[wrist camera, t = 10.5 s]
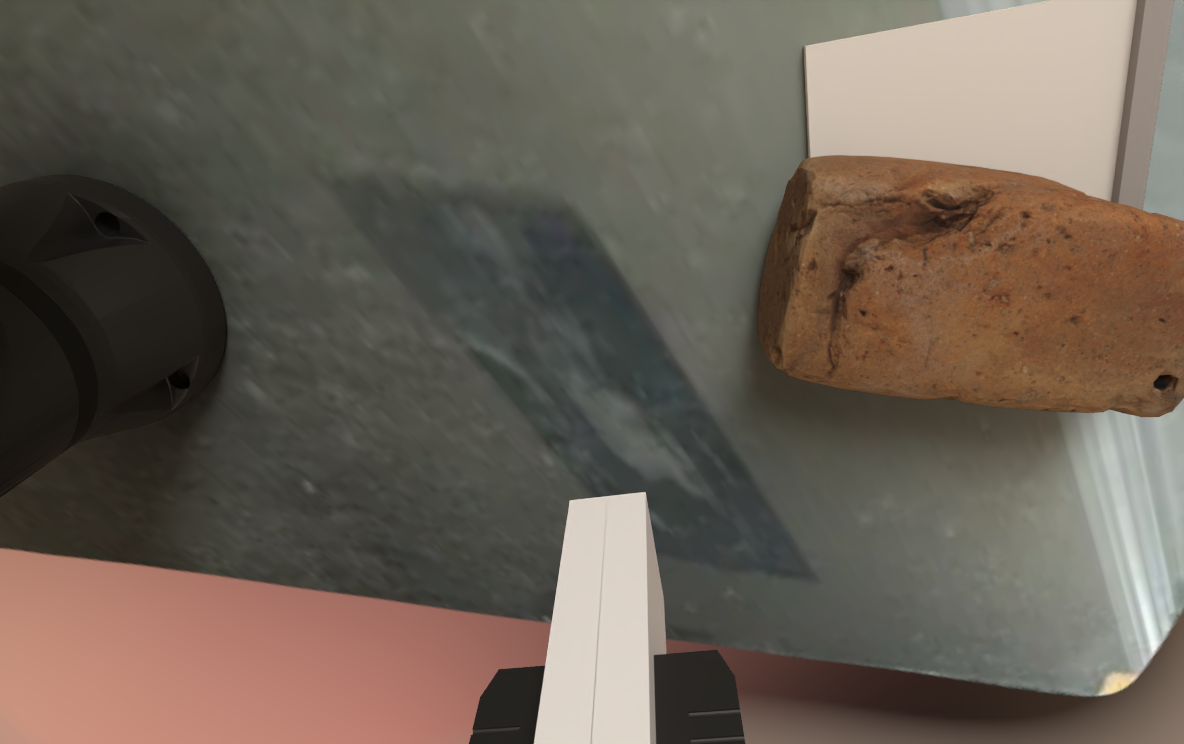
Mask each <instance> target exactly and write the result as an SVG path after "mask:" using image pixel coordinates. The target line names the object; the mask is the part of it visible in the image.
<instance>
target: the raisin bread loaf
mask: <svg viewBox="0 0 1184 744" xmlns="http://www.w3.org/2000/svg"><path fill="white" fill-rule="evenodd" d="M758 334H759V338H760V343H761V345H762V348H763V350H764V352H765V354H766V356H767V357H768V359H769V360H770V361H771V362H772V363H773V365H774V366H776V367H777V368H778V369H779V370H781V371H782V372H784V373H785V374H787V375H788V376H790V377H794V378H797V379H801V380H805V381H809V382H813V383H817V384H821V385H825V386H830V387H834V388H839V389H844V390H852V391H859V392H865V393H872V394H879V395H886V396H893V397H901V398H913V399H927V400H933V399H938V398H946V399H954V400H958V401H960V402H963V403H970V404H979V405H985V406H992V407H1001V408H1015V409H1030V410H1040V411H1058V412H1082V413H1095V412H1104V411H1106V410H1109V409H1110V410H1114V411H1118V412H1121V413H1126V414H1130V415H1135V416H1140V417H1160V416H1162V415H1164V414H1166V413H1169V412H1171V411H1173V410H1174V409H1175V407H1176V406H1177V405H1178V404H1179V403H1180V402H1181V401H1182V399H1183V398H1184V222H1183V221H1180V220H1177V219H1174V218H1171V217H1168V216H1164V215H1160V214H1157V213H1151V214H1150V213H1148V212H1145V211H1143V210H1140V209H1137V208H1134V207H1132V206H1128V205H1123V204H1119V203H1114V202H1110V201H1107V200H1104V199H1100V198H1096V197H1092V196H1088V195H1086V194H1085V193H1084V192H1081V191H1079V190H1076V189H1073V188H1071V187H1068V186H1066V185H1063V184H1061V183H1059V182H1056V181H1053V180H1049V179H1046V178H1044V177H1039V176H1033V175H1028V174H1023V173H1018V172H1011V171H1003V170H996V169H989V168H983V167H977V166H967V165H958V164H950V163H943V162H935V161H926V160H916V159H905V158H894V157H879V156H847V155H830V156H819V157H812V158H806V159H805V160H803V161H802V162H801V164H800V165H799V167H798V169H797V170H796V172H795V174H794V176H793V177H792V178H791V179H790V180H789V181H788V184H787V187H786V191H785V195H784V198H783V201H782V204H781V207H780V210H779V213H778V219H777V226H776V228H775V230H774V232H773V234H772V237H771V240H770V244H769V248H768V251H767V255H766V260H765V267H764V271H763V275H762V282H761V289H760V300H759V308H758Z"/></svg>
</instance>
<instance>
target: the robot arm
mask: <svg viewBox="0 0 1184 744" xmlns="http://www.w3.org/2000/svg"><path fill="white" fill-rule="evenodd" d="M225 341H226V321H225V314H224V308H223V304H222V300H221V297H220V293H219V291H218V288H217V285H216V283H215V281H214V279H213V276H212V274H211V272H210V270H209V269H208V267H207V265H206V263H205V262H204V260H203V258H202V257H201V255H200V254H199V253H198V251H197V250H196V248H195V247H194V246H193V245H192V243H191V242H190V241H189V240H188V238H187V237H186V236H185V235H184V234H183V233H182V232H181V231H180V230H179V229H178V228H177V227H176V226H175V225H174V224H173V223H172V222H171V221H170V220H169V219H168V218H167V217H165V216H164V215H163V214H162V213H160V212H159V211H158V210H157V209H155V208H154V207H152V206H151V205H150V204H148V203H147V202H145V201H143V200H142V199H140V198H139V197H137V196H135V195H133V194H131V193H129V192H127V191H125V190H123V189H121V188H119V187H116V186H114V185H111V184H109V183H105V182H102V181H99V180H95V179H91V178H86V177H81V176H72V175H54V176H45V177H40V178H35V179H30V180H26V181H21V182H17V183H12V184H8V185H5V186H2V187H0V497H1V496H3V495H4V494H6V493H7V492H8V491H10V490H11V489H13V488H14V487H15V486H17V485H18V484H20V483H21V482H22V481H24V480H25V479H27V478H28V477H29V476H31V475H32V474H34V473H35V472H36V471H38V470H39V469H40V468H42V467H43V466H45V465H46V464H47V463H49V462H50V461H52V460H53V459H54V458H56V457H57V456H58V455H60V454H61V453H63V452H64V451H66V450H67V449H68V448H70V447H71V446H73V445H74V444H76V443H77V442H81V441H85V440H88V439H92V438H96V437H99V436H103V435H107V434H111V433H114V432H118V431H122V430H126V429H129V428H133V427H137V426H141V425H144V424H148V423H151V422H154V421H157V420H159V419H161V418H163V417H165V416H167V415H169V414H171V413H173V412H174V411H176V410H177V409H179V408H180V407H181V406H183V405H184V404H185V403H187V402H188V401H189V400H191V399H192V398H193V397H195V396H196V395H197V394H198V393H200V392H201V391H202V390H203V389H204V388H205V387H206V386H207V385H208V383H209V382H210V381H211V380H212V378H213V377H214V375H215V373H216V371H217V369H218V368H219V365H220V363H221V360H222V357H223V353H224V348H225ZM469 744H745V740H744V733H743V727H742V720H741V714H740V707H739V701H738V695H737V688H736V681H735V676H734V674H733V673H732V671H731V670H730V668H729V667H728V665H727V664H726V662H725V661H724V659H723V658H722V657H721V655H720V654H719V652H718V651H717V650H710V651H698V652H685V653H673V654H666V636H665V615H664V598H663V592H662V586H661V580H660V574H659V569H658V563H657V557H656V551H655V545H654V539H653V533H652V527H651V522H650V516H649V510H648V504H647V498H646V492H642V493H633V494H624V495H615V496H606V497H597V498H588V499H579V500H570V503H569V510H568V516H567V523H566V530H565V537H564V543H563V550H562V557H561V564H560V570H559V577H558V584H557V591H556V597H555V604H554V611H553V618H552V624H551V631H550V638H549V645H548V651H547V658H546V665H545V666H535V667H523V668H511V669H499V670H498V672H497V673H496V675H495V676H494V678H493V679H492V681H491V682H490V684H489V685H488V687H487V688H486V690H485V691H484V692H483V694H482V695H481V697H480V701H479V705H478V709H477V713H476V717H475V721H474V725H473V735H471V738H470V742H469Z"/></svg>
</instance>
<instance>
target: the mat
mask: <svg viewBox="0 0 1184 744" xmlns="http://www.w3.org/2000/svg"><path fill="white" fill-rule="evenodd" d="M1173 4H1174V0H1049V1H1044V2H1039V3H1033V4H1028V5H1023V6H1017V7H1012V8H1006V9H1001V10H996V11H990V12H985V13H979V14H974V15H969V16H963V17H958V18H953V19H947V20H942V21H936V22H931V23H926V24H920V25H915V26H909V27H904V28H899V29H893V30H888V31H882V32H877V33H872V34H866V35H861V36H856V37H850V38H845V39H839V40H834V41H829V42H823V43H818V44H812V45H807V46H803V49H804V71H805V94H806V116H807V138H808V158H812V157H819V156H830V155H847V156H879V157H894V158H905V159H916V160H926V161H935V162H943V163H950V164H958V165H967V166H977V167H983V168H989V169H996V170H1003V171H1011V172H1018V173H1023V174H1028V175H1033V176H1039V177H1044V178H1046V179H1049V180H1053V181H1056V182H1059V183H1061V184H1063V185H1066V186H1068V187H1071V188H1073V189H1076V190H1079V191H1081V192H1084V193H1085V194H1086V195H1088V196H1092V197H1096V198H1100V199H1104V200H1107V201H1110V202H1114V203H1119V204H1123V205H1128V206H1132V207H1134V208H1137V209H1140V210H1143V206H1144V199H1145V192H1146V185H1147V179H1148V172H1149V165H1150V159H1151V152H1152V145H1153V139H1154V132H1155V125H1156V118H1157V112H1158V105H1159V98H1160V92H1161V85H1162V78H1163V71H1164V65H1165V58H1166V51H1167V45H1168V38H1169V31H1170V25H1171V18H1172V11H1173Z"/></svg>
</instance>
